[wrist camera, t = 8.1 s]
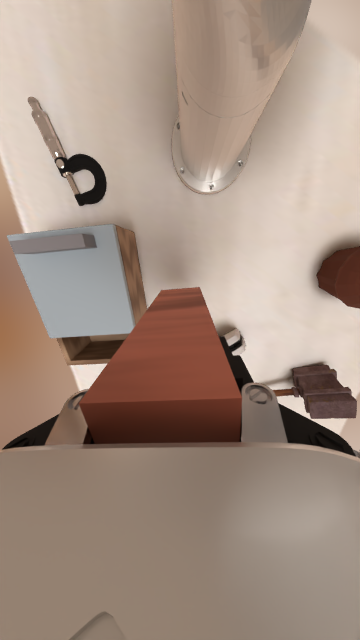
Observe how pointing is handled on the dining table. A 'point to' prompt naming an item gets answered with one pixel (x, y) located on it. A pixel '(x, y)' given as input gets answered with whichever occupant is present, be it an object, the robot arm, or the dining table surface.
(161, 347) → the peg
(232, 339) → the white curved piece
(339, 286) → the muffin
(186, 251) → the dining table surface
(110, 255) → the lid
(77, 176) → the dining table surface
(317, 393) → the hammer
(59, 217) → the dining table surface
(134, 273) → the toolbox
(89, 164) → the micrometer
